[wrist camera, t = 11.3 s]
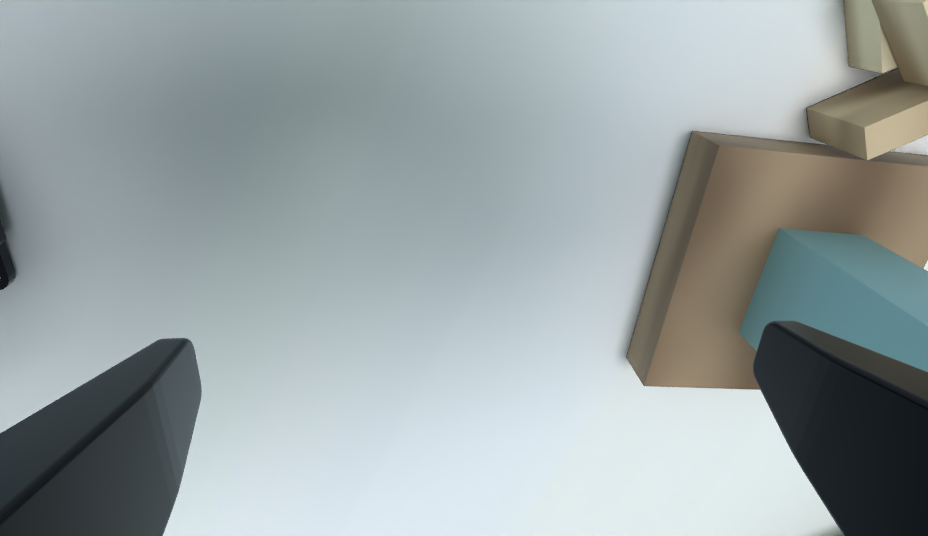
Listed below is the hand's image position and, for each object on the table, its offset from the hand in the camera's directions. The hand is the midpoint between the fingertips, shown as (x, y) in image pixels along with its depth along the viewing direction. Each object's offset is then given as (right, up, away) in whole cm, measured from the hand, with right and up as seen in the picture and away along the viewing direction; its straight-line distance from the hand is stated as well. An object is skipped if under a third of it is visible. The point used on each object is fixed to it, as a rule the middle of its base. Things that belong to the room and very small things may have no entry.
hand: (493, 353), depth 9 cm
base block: (+12, +2, +15) cm, 20 cm away
